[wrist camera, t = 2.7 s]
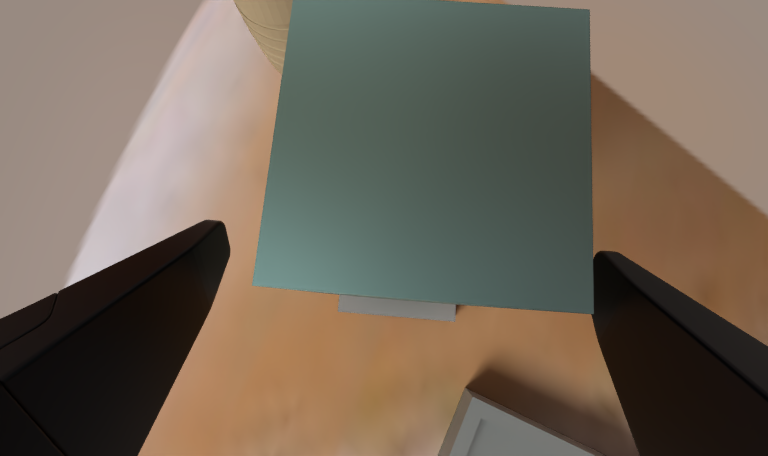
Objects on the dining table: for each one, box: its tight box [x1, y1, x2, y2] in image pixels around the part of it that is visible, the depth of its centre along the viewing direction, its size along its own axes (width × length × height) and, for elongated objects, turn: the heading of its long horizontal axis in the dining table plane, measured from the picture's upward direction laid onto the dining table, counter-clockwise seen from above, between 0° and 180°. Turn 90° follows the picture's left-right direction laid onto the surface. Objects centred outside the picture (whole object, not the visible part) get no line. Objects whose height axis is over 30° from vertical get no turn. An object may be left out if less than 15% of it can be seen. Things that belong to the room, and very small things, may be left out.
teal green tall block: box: [252, 0, 594, 322], centre depth 11 cm, size 5×5×14 cm
